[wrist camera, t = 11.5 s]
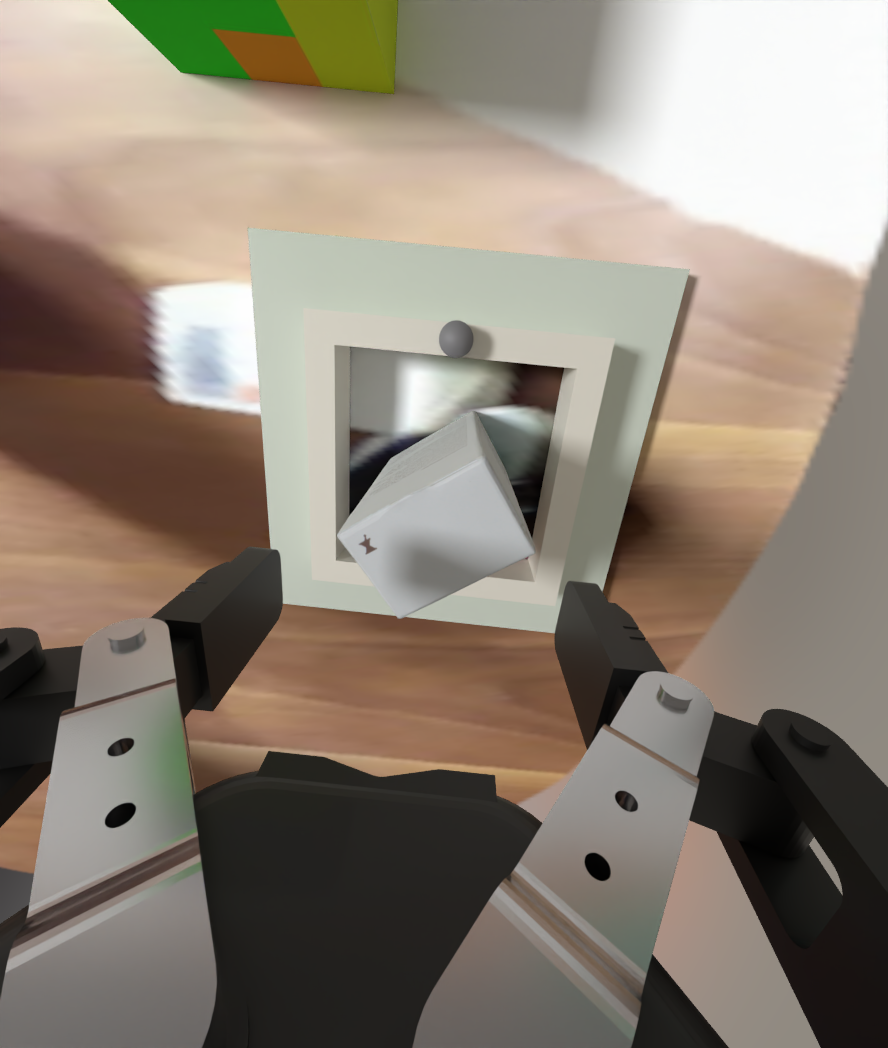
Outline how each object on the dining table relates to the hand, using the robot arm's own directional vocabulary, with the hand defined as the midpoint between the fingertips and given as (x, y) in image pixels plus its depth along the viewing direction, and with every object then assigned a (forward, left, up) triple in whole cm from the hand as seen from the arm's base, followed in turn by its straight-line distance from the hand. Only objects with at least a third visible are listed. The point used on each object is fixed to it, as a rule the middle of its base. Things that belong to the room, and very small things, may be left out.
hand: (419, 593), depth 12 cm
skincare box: (0, 0, -15) cm, 15 cm away
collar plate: (0, 0, -15) cm, 15 cm away
